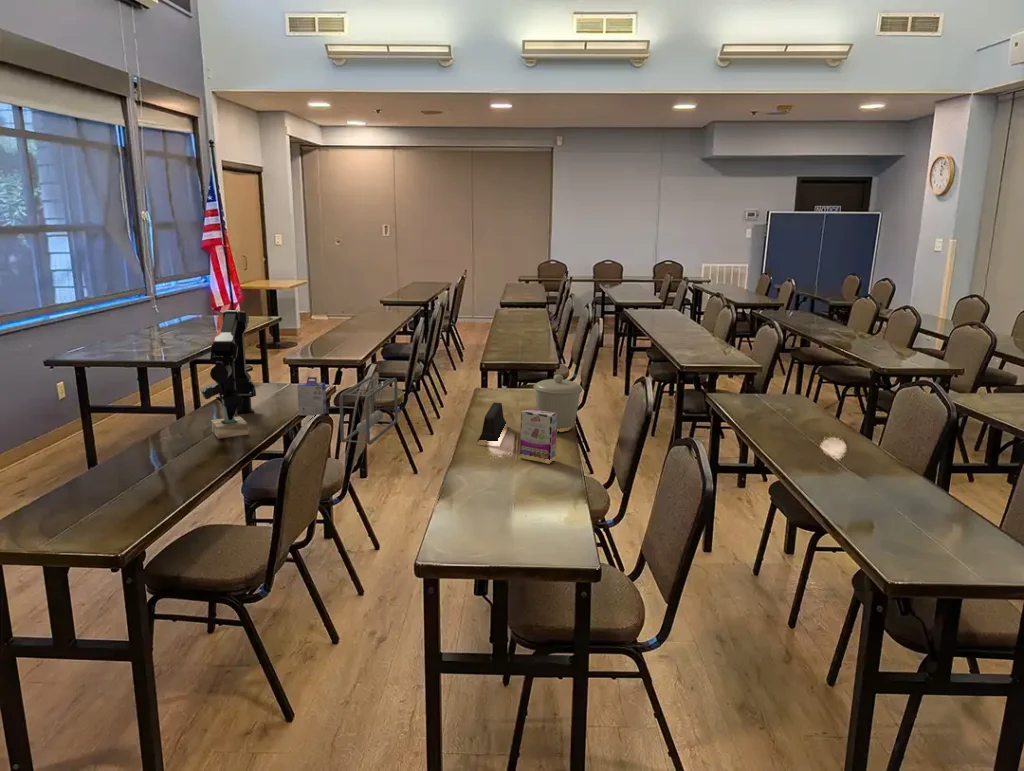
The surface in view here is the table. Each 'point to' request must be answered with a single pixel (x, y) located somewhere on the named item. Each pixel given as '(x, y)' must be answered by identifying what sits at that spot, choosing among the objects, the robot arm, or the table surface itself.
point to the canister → (559, 399)
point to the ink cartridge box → (311, 398)
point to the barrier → (493, 423)
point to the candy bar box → (538, 433)
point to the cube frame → (374, 416)
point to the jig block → (229, 428)
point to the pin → (226, 420)
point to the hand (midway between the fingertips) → (229, 418)
